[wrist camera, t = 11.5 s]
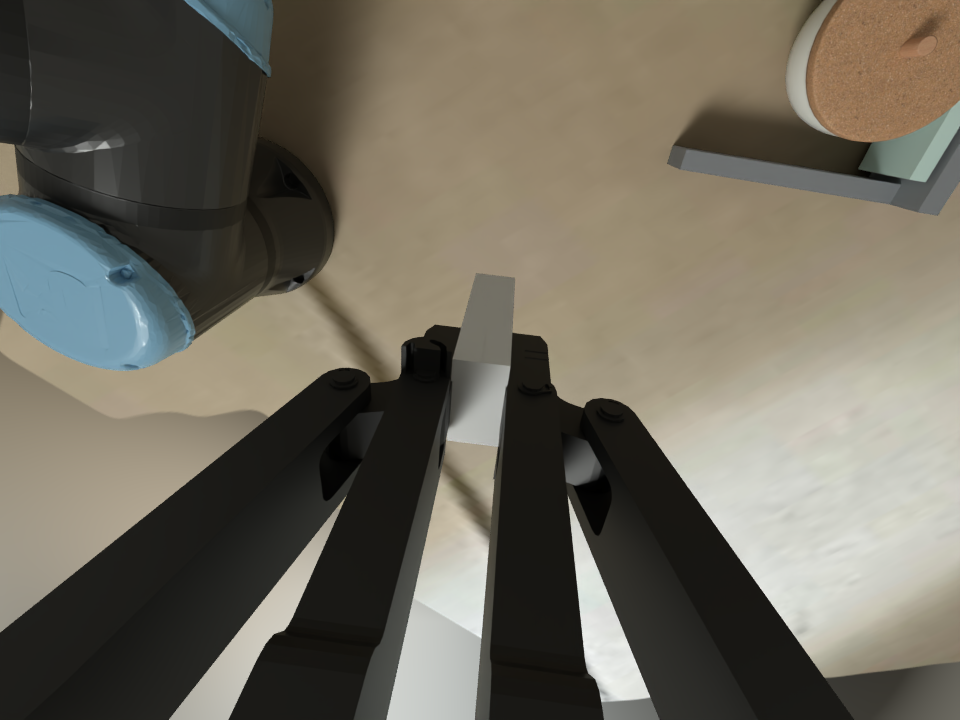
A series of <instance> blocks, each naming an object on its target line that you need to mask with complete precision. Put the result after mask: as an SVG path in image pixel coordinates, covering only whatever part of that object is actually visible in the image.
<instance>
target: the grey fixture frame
mask: <svg viewBox="0 0 960 720" xmlns="http://www.w3.org/2000/svg"><path fill="white" fill-rule="evenodd" d="M667 164H669V165H671V166H673V167H676V168H678V169H680V170H686V171H692V172H698V173H704V174H710V175H716V176H722V177H728V178H734V179H740V180H746V181H752V182H758V183H764V184H771V185H777V186H783V187H789V188H795V189H801V190H807V191H813V192H819V193H825V194H831V195H837V196H843V197H849V198H855V199H861V200H867V201H873V202H879V203H885V204H890V205H894V206H897V207H901V208H904V209H908V210H911V211H915V212H919V213H925V214H931V215H937V216H938V214H939V212H940V211H941V209H942V208H943V206H944V205H945V203H946V202H947V200H948V199H949V197H950V195H951V194H952V192H953V191H954V189H955V188H956V186H957V185H958V183H959V182H960V127H959V129H958V130H957V132H956V133H955V135H954V137H953V138H952V140H951V142H950V143H949V145H948V147H947V148H946V150H945V151H944V153H943V155H942V156H941V158H940V160H939V161H938V163H937V165H936V166H935V168H934V169H933V171H932V173H931V174H930V176H929V178H928V179H927V181H926V182H920V181H914V180H908V179H904V178H899V177H894V176H889V175H884V174H879V173H874V172H871V174H870V176H869V177H863V176H857V175H851V174H844V173H838V172H832V171H826V170H820V169H814V168H808V167H802V166H796V165H790V164H784V163H778V162H772V161H766V160H760V159H754V158H748V157H742V156H736V155H730V154H723V153H717V152H711V151H705V150H699V149H693V148H687V147H681V146H675V145H673V147H672V150H671V153H670V156H669V160H668V163H667Z"/></svg>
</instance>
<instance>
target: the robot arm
mask: <svg viewBox="0 0 960 720" xmlns="http://www.w3.org/2000/svg"><path fill="white" fill-rule="evenodd" d="M273 14H274V13H273V4H272V0H0V143H7V144H14V145H15V154H16V163H17V174H18V182H19V193H18V195H13V194H9V195H3V196H0V308H1V309H2V310H3V312H4V313H6V314H7V315H8V316H9V317H10V318H11V319H13V320H14V321H15V322H17V323H18V324H19V325H20V326H21V327H22V328H23V329H24V330H25V331H26V332H28V333H29V334H30V335H31V336H33V337H34V338H36V339H37V340H38V341H40V342H42V343H43V344H45V345H46V346H48V347H50V348H51V349H53V350H55V351H57V352H59V353H61V354H63V355H65V356H67V357H69V358H71V359H74V360H76V361H79V362H81V363H84V364H87V365H90V366H94V367H98V368H103V369H109V370H118V371H129V370H138V369H141V368H146V367H148V366H151V365H154V364H156V363H158V362H160V361H161V360H163V359H165V358H167V357H169V356H170V355H172V354H174V353H176V352H181V351H183V350H185V349H186V348H188V347H189V345H191V344H192V341H194V340H195V339H196V338H197V337H199V336H200V335H202V334H203V333H205V332H206V331H207V330H209V329H210V328H212V327H213V326H214V325H216V324H217V323H219V322H220V321H222V320H223V319H224V318H226V317H227V316H229V315H230V314H232V313H233V312H234V311H236V310H237V309H239V308H240V307H241V306H243V305H244V304H246V303H247V302H249V301H250V300H251V299H253V298H254V297H259V296H267V295H276V294H282V293H287V292H290V291H293V290H295V289H297V288H299V287H301V286H303V285H304V284H306V283H307V282H308V281H309V280H311V279H312V278H313V277H315V276H316V275H317V274H318V273H319V272H320V271H321V270H322V268H323V267H324V265H325V264H326V262H327V260H328V258H329V256H330V253H331V250H332V246H333V238H334V226H333V218H332V213H331V210H330V206H329V203H328V201H327V198H326V196H325V194H324V192H323V190H322V188H321V186H320V184H319V183H318V181H317V180H316V178H315V177H314V176H313V174H312V173H311V172H310V171H309V169H308V168H307V167H306V166H305V165H304V164H303V163H302V162H301V161H300V160H299V159H297V158H296V157H295V156H294V155H293V154H291V153H290V152H288V151H287V150H285V149H284V148H282V147H280V146H279V145H277V144H275V143H272V142H270V141H267V140H265V139H261V138H258V133H259V127H260V120H261V114H262V108H263V101H264V95H265V89H266V82H267V77H270V76H271V67H270V65H269V54H270V44H271V34H272V24H273ZM514 290H515V278H512V277H504V276H495V275H487V274H478V273H476V276H475V280H474V283H473V287H472V290H471V294H470V298H469V301H468V305H467V309H466V312H465V316H464V319H463V323H462V327H461V328H458V327H450V326H442V325H434V326H433V327H431V328H430V329H428V330H427V331H426V333H425V335H424V337H417V338H412V339H410V340H408V341H405V342H404V344H403V345H402V346H401V374H400V377H399V379H397V380H393V381H389V382H380V383H370V377H369V376H368V375H367V373H366V372H363V371H361V370H359V369H353V368H338V369H335V370H331V371H328V372H327V373H325V374H323V375H321V376H320V377H319V378H318V379H316V380H315V381H314V382H313V383H311V384H310V385H309V386H308V387H306V388H305V389H304V390H303V391H301V392H300V393H299V394H298V395H296V396H295V397H294V398H293V399H291V400H290V401H289V402H288V403H286V404H285V405H284V406H283V407H281V408H280V409H279V410H278V411H276V412H275V413H274V414H273V415H271V416H270V417H269V418H268V419H266V420H265V421H264V422H263V423H262V424H260V425H259V426H258V427H256V428H255V429H254V430H253V431H252V432H250V433H249V434H248V435H246V436H245V437H244V438H243V439H241V440H240V441H239V442H238V443H236V444H235V445H234V446H233V447H231V448H230V449H229V450H228V451H226V452H225V453H224V454H223V455H222V456H220V457H219V458H218V459H216V460H215V461H214V462H213V463H212V464H210V465H209V466H208V467H206V468H205V469H204V470H203V471H201V472H200V473H199V474H198V475H197V476H195V477H194V478H193V479H192V480H190V481H189V482H188V483H186V485H184V486H183V487H181V488H180V489H179V490H178V491H177V492H175V493H174V494H173V495H172V496H170V497H169V498H168V499H167V500H165V501H164V502H163V503H162V504H160V505H159V506H158V507H156V509H154V510H153V511H151V512H150V513H149V514H148V515H147V516H145V517H144V518H143V519H142V520H140V521H139V522H138V523H137V524H135V525H134V526H133V527H132V528H130V529H129V530H128V531H127V532H125V533H124V534H123V535H122V536H120V537H119V538H118V539H117V540H115V541H114V542H113V543H112V544H110V545H109V546H108V547H107V548H105V549H104V550H103V551H102V552H100V553H99V554H98V555H97V556H95V557H94V558H93V559H92V560H90V561H89V562H88V563H87V564H85V565H84V566H83V567H82V568H80V569H79V570H78V571H77V572H75V573H74V574H73V575H72V576H70V577H69V578H68V579H67V580H66V581H64V582H63V583H62V584H60V585H59V586H58V587H57V588H55V589H54V590H53V591H52V592H50V593H49V594H48V595H47V596H45V597H44V598H43V599H42V600H40V601H39V602H38V603H37V604H35V605H34V606H33V607H32V608H30V609H29V610H28V611H27V612H25V613H24V614H23V615H22V616H20V617H19V618H18V619H17V620H15V621H14V622H13V623H12V624H10V625H9V626H8V627H7V628H5V629H4V630H3V631H2V632H0V720H169V718H170V717H171V716H172V715H173V713H174V712H175V711H176V709H177V708H178V707H179V706H180V705H181V703H182V702H183V701H184V699H185V698H186V697H187V696H188V694H189V693H190V692H191V691H192V689H193V688H194V687H195V686H196V684H197V683H198V682H199V681H200V679H201V678H202V677H203V675H204V674H205V673H206V672H207V671H208V669H209V668H210V667H211V666H212V664H213V663H214V662H215V660H216V659H217V658H218V657H219V655H220V654H221V653H222V652H223V650H224V649H225V648H226V647H227V645H228V644H229V643H230V642H231V640H232V639H233V638H234V636H235V635H236V634H237V633H238V631H239V630H240V629H241V628H242V626H243V625H244V624H245V623H246V621H247V620H248V619H249V618H250V616H251V615H252V614H253V612H254V611H255V610H256V609H257V608H258V606H259V605H260V604H261V602H262V601H263V600H264V599H265V597H266V596H267V595H268V594H269V592H270V591H271V590H272V589H273V587H274V586H275V585H276V584H277V582H278V581H279V580H280V579H281V577H282V576H283V575H284V574H285V572H286V571H287V570H288V568H289V567H290V566H291V565H292V563H293V562H294V561H295V560H296V558H297V557H298V556H299V555H300V553H301V552H302V551H303V550H304V548H305V547H306V546H307V544H308V543H309V542H310V541H311V539H312V538H313V537H314V536H315V534H316V533H317V532H318V531H319V529H320V528H321V527H322V525H323V524H324V523H325V522H326V521H327V519H328V518H329V517H330V515H331V514H332V513H333V512H334V510H335V509H336V508H337V507H338V505H339V504H340V503H341V502H342V500H343V499H344V498H345V497H346V498H345V501H344V503H343V505H342V507H341V510H340V512H339V515H338V517H337V519H336V521H335V523H334V526H333V528H332V530H331V532H330V535H329V537H328V539H327V541H326V544H325V546H324V548H323V551H322V553H321V555H320V557H319V559H318V562H317V564H316V566H315V568H314V571H313V573H312V575H311V578H310V580H309V582H308V584H307V586H306V589H305V591H304V593H303V596H302V598H301V600H300V602H299V605H298V607H297V609H296V611H295V613H294V616H293V618H292V620H291V622H290V624H289V625H288V627H287V628H286V629H285V630H284V631H282V632H279V633H276V634H274V635H273V636H272V638H270V639H269V641H268V642H267V643H266V644H265V646H264V648H263V650H262V652H261V653H260V655H259V657H258V659H257V661H256V663H255V665H254V667H253V669H252V671H251V673H250V675H249V678H248V680H247V682H246V684H245V686H244V688H243V690H242V692H241V695H240V697H239V699H238V701H237V703H236V705H235V707H234V709H233V711H232V714H231V716H230V718H229V720H386V718H387V714H388V709H389V704H390V700H391V695H392V691H393V686H394V682H395V677H396V673H397V668H398V664H399V659H400V655H401V650H402V646H403V641H404V637H405V632H406V627H407V623H408V618H409V613H410V609H411V605H412V600H413V596H414V591H415V587H416V582H417V577H418V573H419V568H420V564H421V559H422V555H423V550H424V546H425V541H426V537H427V532H428V528H429V523H430V518H431V514H432V509H433V505H434V500H435V496H436V491H437V487H438V482H439V478H440V473H441V468H442V464H443V459H444V455H445V445H446V436H447V440H449V441H456V442H464V443H472V444H480V445H487V446H495V447H498V451H497V458H496V464H495V471H494V478H493V479H495V481H494V493H493V505H492V518H491V530H490V542H489V554H488V566H487V578H486V591H485V603H484V615H483V627H482V639H481V652H480V665H479V676H478V688H477V700H476V712H475V720H604V718H603V710H602V705H601V698H600V693H599V689H598V686H597V683H596V680H595V679H594V678H593V677H592V676H591V675H589V674H588V671H587V668H586V663H585V657H584V647H583V638H582V628H581V619H580V609H579V600H578V590H577V581H576V571H575V562H574V552H573V543H572V533H571V524H570V514H569V504H568V497H569V499H570V501H571V504H572V506H573V509H574V511H575V514H576V516H577V519H578V521H579V523H580V526H581V528H582V531H583V533H584V536H585V538H586V541H587V543H588V545H589V548H590V550H591V553H592V555H593V558H594V560H595V563H596V565H597V567H598V570H599V572H600V575H601V577H602V580H603V582H604V585H605V587H606V589H607V592H608V594H609V597H610V599H611V602H612V604H613V607H614V609H615V611H616V614H617V616H618V619H619V621H620V624H621V626H622V629H623V631H624V633H625V636H626V638H627V641H628V643H629V646H630V648H631V651H632V653H633V655H634V658H635V660H636V663H637V665H638V668H639V670H640V673H641V675H642V677H643V680H644V682H645V685H646V687H647V690H648V692H649V695H650V697H651V699H652V702H653V704H654V707H655V709H656V712H657V714H658V717H659V718H660V720H854V719H853V717H852V716H851V714H850V713H849V712H848V710H847V709H846V707H845V706H844V705H843V704H842V702H841V701H840V699H839V698H838V696H837V695H836V693H835V692H834V691H833V689H832V688H831V687H830V685H829V684H828V683H827V681H826V680H825V678H824V677H823V675H822V674H821V673H820V671H819V670H818V668H817V667H816V666H815V664H814V663H813V661H812V660H811V659H810V657H809V656H808V654H807V653H806V652H805V650H804V649H803V647H802V646H801V645H800V643H799V642H798V640H797V639H796V638H795V636H794V635H793V633H792V632H791V631H790V629H789V628H788V626H787V625H786V624H785V622H784V621H783V619H782V618H781V617H780V615H779V614H778V612H777V611H776V610H775V608H774V607H773V605H772V604H771V603H770V601H769V600H768V598H767V597H766V596H765V594H764V593H763V591H762V590H761V589H760V587H759V586H758V584H757V583H756V582H755V580H754V579H753V577H752V576H751V575H750V573H749V572H748V570H747V569H746V568H745V566H744V565H743V564H742V562H741V561H740V559H739V558H738V557H737V555H736V554H735V552H734V551H733V550H732V548H731V547H730V545H729V544H728V543H727V541H726V540H725V538H724V537H723V536H722V534H721V533H720V531H719V530H718V529H717V527H716V526H715V524H714V523H713V522H712V520H711V519H710V517H709V516H708V515H707V513H706V512H705V510H704V509H703V508H702V506H701V505H700V503H699V502H698V501H697V499H696V498H695V496H694V495H693V494H692V492H691V491H690V489H689V488H688V487H687V485H686V484H685V482H684V481H683V480H682V478H681V477H680V475H679V474H678V473H677V471H676V470H675V468H674V467H673V466H672V464H671V463H670V461H669V460H668V459H667V457H666V456H665V454H664V453H663V452H662V450H661V449H660V448H659V446H658V445H657V443H656V442H655V441H654V439H653V438H652V436H651V435H650V434H649V432H648V431H647V429H646V428H645V427H644V425H643V424H642V422H641V421H640V420H639V418H638V417H637V415H636V414H635V413H634V412H633V411H632V410H631V409H630V408H629V407H628V406H626V405H624V404H622V403H621V402H618V401H616V400H612V399H604V398H598V399H592V400H590V401H589V402H587V403H586V405H585V407H584V408H581V407H578V406H575V405H573V404H570V403H568V402H566V401H564V400H562V399H560V398H559V397H558V396H557V391H556V389H555V387H554V385H552V384H551V379H550V368H549V358H548V347H547V344H546V342H545V341H544V340H543V339H542V338H541V337H540V336H533V335H525V334H517V333H512V328H513V309H514ZM567 494H568V495H567ZM346 495H347V496H346Z"/></svg>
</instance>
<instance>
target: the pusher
mask: <svg viewBox="0 0 960 720" xmlns="http://www.w3.org/2000/svg"><path fill="white" fill-rule="evenodd" d="M959 127H960V101H958V102H957V103H956V104H955V105H954V106H953V107H952V108H951V109H949V110H948V111H947V112H946V113H944V114H943V115H942V116H940V117H939V118H937V119H936V120H934V121H933V122H931V123H930V124H928V125H926V126H924V127H922V128H920V129H918V130H916V131H915V132H913V133H910V134H907V135H904V136H902V137H899V138H895V139H891V140H887V141H880V142H872V144H871V146H870V148H869V149H868V151H867V153H866V155H865V157H864V159H863V161H862V163H861V164H860V166H859V168H858V169H859V170H864V171H869V172H874V173H879V174H884V175H889V176H894V177H899V178H904V179H908V180H914V181H920V182H926V181H927V179H928V178H929V176H930V174H931V173H932V171H933V169H934V168H935V166H936V165H937V163H938V161H939V160H940V158H941V156H942V155H943V153H944V151H945V150H946V148H947V147H948V145H949V143H950V142H951V140H952V138H953V137H954V135H955V133H956V132H957V130H958V129H959Z"/></svg>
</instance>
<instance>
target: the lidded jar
mask: <svg viewBox="0 0 960 720" xmlns="http://www.w3.org/2000/svg"><path fill="white" fill-rule="evenodd" d="M785 83H786V91H787V95H788V99H789V102H790V104H791V106H792V108H793V110H794V111H795V113H796V114H797V115H798V116H799V118H801V119H802V120H803V121H804V122H806V123H807V124H808V125H809V126H811V127H813V128H815V129H816V130H818V131H821V132H823V133H826V134H829V135H833V136H837V137H841V138H845V139H848V140H852V141H861V142H880V141H887V140H891V139H895V138H899V137H902V136H904V135H907V134H910V133H913V132H915V131H916V130H918V129H920V128H922V127H924V126H926V125H928V124H930V123H931V122H933V121H934V120H936V119H937V118H939V117H940V116H942V115H943V114H944V113H946V112H947V111H948V110H949V109H951V108H952V107H953V106H954V105H955V104H956V103H957V102H958V101H960V0H824V1H823V2H822V3H821V4H820V5H819V6H818V7H817V8H816V9H815V10H814V12H813V13H812V14H811V15H810V17H809V18H808V19H807V21H806V22H805V24H804V25H803V27H802V29H801V30H800V32H799V33H798V35H797V37H796V39H795V42H794V44H793V46H792V48H791V51H790V54H789V57H788V62H787V66H786V76H785Z"/></svg>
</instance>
